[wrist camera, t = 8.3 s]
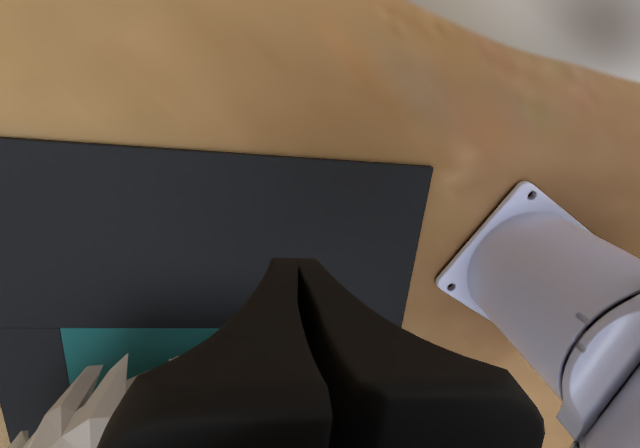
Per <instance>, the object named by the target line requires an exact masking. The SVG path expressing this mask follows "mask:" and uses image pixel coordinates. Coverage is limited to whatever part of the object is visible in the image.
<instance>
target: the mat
mask: <svg viewBox="0 0 640 448" xmlns="http://www.w3.org/2000/svg"><path fill="white" fill-rule="evenodd" d="M432 172H433V167H431V166H424V165H409V164H394V163H379V162H364V161H349V160H334V159H320V158H305V157H290V156H275V155H260V154H245V153H230V152H215V151H201V150H186V149H171V148H156V147H141V146H126V145H111V144H97V143H82V142H67V141H52V140H37V139H22V138H7V137H0V404H1V408H2V412H3V416H4V420H5V424H6V428H7V431H8V435H9V439H10V443H12V442H13V440H14V439H15V438H16V437H17V435H18V434H19V433H20V432H21V431H27V430H28V435H29V439H30V438H31V437H32V435H33V434H34V433H35V432H36V430H37V429H38V427H39V425H40V423H41V421H42V419H43V417H44V416H45V414H46V413H47V412H48V411H49V410H50V408H51V407H52V406H53V405H54V404H55V403H56V402H57V400H58V399H59V398H60V397H61V396H62V395H63V393H64V392H65V391H66V390H67V389H68V388H69V387H70V385H71V384H72V383H73V382H74V381H75V380H76V378H77V377H78V376H79V375H80V374H81V373H82V372H83V370H84V369H85V368H86V367H87V366H93V365H103V368H102V370H101V372H100V375H99V377H98V380H97V383H96V385H95V388H94V390H93V392H94V391H95V390H96V388H97V387H98V385H99V384H100V383H101V381H102V380H103V379H104V377H105V376H106V374H107V373H108V372H109V370H110V369H111V368H112V367H113V366H114V365H115V364H117V363H118V362H119V361H120V360H121V359H122V358H123V357H124V356H125V355H126V354H127V353H128V363H127V376H126V380H128V379H130V378H132V377H135V376H137V375H139V374H142V373H144V372H146V371H149V370H151V369H153V368H156V367H158V366H160V365H162V364H164V363H166V362H168V361H169V359H173V358H175V357H177V356H180V355H182V354H184V353H185V352H187V351H189V350H190V349H192V348H194V347H195V346H197V345H198V344H200V343H201V342H203V341H205V340H206V339H207V338H209V337H210V336H211V335H213V334H214V333H215V332H216V331H218V330H219V329H220V328H221V327H222V326H223V325H225V324H226V323H227V322H228V321H229V320H230V319H231V318H232V317H233V316H234V315H235V314H236V313H237V312H238V311H239V310H240V309H241V307H242V306H243V305H244V304H245V303H246V301H247V300H248V299H249V298H250V296H251V295H252V294H253V292H254V291H255V290H256V288H257V287H258V285H259V283H260V282H261V280H262V279H263V277H264V275H265V273H266V271H267V269H268V266H269V263H270V260H271V259H273V258H274V257H276V258H311V259H317V260H318V261H319V262H320V263H321V264H322V266H323V267H324V268H325V269H326V270H327V271H328V272H329V273H330V274H331V275H332V276H333V277H334V278H335V279H336V280H337V281H338V282H339V283H341V284H342V285H343V286H344V287H345V288H346V289H347V290H348V291H349V292H350V293H352V294H353V295H354V296H355V297H356V298H358V299H359V300H360V301H361V302H363V303H364V304H365V305H366V306H368V307H369V308H371V309H372V310H373V311H375V312H376V313H378V314H379V315H381V316H382V317H384V318H386V319H387V320H389V321H390V322H392V323H393V324H395V325H397V326H399V327H400V328H401V326H402V321H403V316H404V311H405V306H406V301H407V296H408V291H409V286H410V281H411V276H412V271H413V266H414V261H415V256H416V251H417V246H418V241H419V236H420V231H421V226H422V221H423V216H424V212H425V207H426V202H427V197H428V192H429V187H430V182H431V177H432ZM92 394H93V393H92Z"/></svg>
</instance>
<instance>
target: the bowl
mask: <svg viewBox="0 0 640 448" xmlns="http://www.w3.org/2000/svg"><path fill="white" fill-rule="evenodd" d="M177 357H178V356H177ZM175 358H176V357H175ZM173 359H174V358H173ZM170 360H172V359H169V361H170ZM127 363H128V353H127V354H126V355H125V356H124V357H123V358H122V359H121V360H120V361H119V362H118V363H117V364H115V365H114V366H113V367H112V368H111V369H110V370H109V372H108V373H107V374H106V376H105V377H104V379H103V380H102V381H101V383H100V384H99V385H98V387H97V388H96V390H95V391H94V392H93V390H94V388H95V385H96V383H97V380H98V377H99V375H100V372H101V370H102V368H103V365H93V366H87V367H86V368H85V369H84V370H83V372H82V373H81V374H80V375H79V376H78V377H77V378H76V380H75V381H74V382H73V383H72V384H71V385H70V387H69V388H68V389H67V390H66V391H65V392H64V393H63V395H62V396H61V397H60V398H59V399H58V400H57V402H56V403H55V404H54V405H53V406H52V407H51V408H50V410H49V411H48V412H47V413H46V414H45V416H44V417H43V419H42V421H41V423H40V425H39V427H38V429H37V430H36V432H35V433H34V434H33V435H32V437H31V438H30V439H29V435H28V430H27V431H21V432H20V433H19V434H18V435H17V437H16V438H15V439H14V440H13V442H12V443H11V444H10V446H9V447H8V448H97V446H98V443H99V441H100V439H101V436H102V434H103V432H104V429H105V427H106V425H107V423H108V421H109V420H110V418H111V416H112V414H113V412H114V411H115V409H116V408H117V406H118V405H119V403H120V401H121V399H122V398H123V396H124V395H125V393H126V392H127V390H128V389H129V387H130V385H131V384H132V382H133V381H134V380H135V378H136V377H137V376H138V375H137V376H135V377H132V378H130V379H128V380H126V376H127ZM146 372H147V371H146ZM144 373H145V372H144ZM139 375H140V374H139ZM92 393H93V394H92Z"/></svg>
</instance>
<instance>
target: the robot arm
mask: <svg viewBox="0 0 640 448" xmlns="http://www.w3.org/2000/svg"><path fill="white" fill-rule="evenodd" d="M531 191H532V195H531V196H530V197H529V198H528V194H529V193H530V192H531ZM452 283H453V285H452V286H451V287H449V288H447V287H448V285H449V284H452ZM436 285H437V286H438V288H439V289H440V290H442V291H444V292H445V293H447V294H448V295H450V296H452V297H453V298H455V299H456V300H458V301H460V302H461V303H463V304H464V305H466V306H468V307H469V308H471V309H472V310H474V311H475V312H477V313H479V314H480V315H482V316H483V317H485V318H487V319H488V320H490V321H491V322H493V323H494V324H495V325H496V326H497V328H498V329H499V330H500V331H501V332H502V333H503V335H504V336H505V337H506V338H507V339H508V340H509V341H510V343H511V344H512V345H513V346H514V347H515V348H516V349H517V351H518V352H519V353H520V354H521V355H522V356H523V357H524V359H525V360H526V361H527V362H528V363H529V364H530V365H531V367H532V368H533V369H534V370H535V371H536V372H537V373H538V375H539V376H540V377H541V378H542V379H543V380H544V381H545V383H546V384H547V385H548V386H549V387H550V388H551V389H552V391H553V392H554V393H555V394H556V395H557V396H558V398H559V399H560V400H561V401H562V402H563V403H562V406H561V409H560V411H559V412H558V414H557V416H556V418H557V419H558V420H559V422H560V423H561V424H562V425H563V426H564V428H565V429H566V430H567V431H568V433H569V434H570V435H571V436H572V437H573V439H574V440H575V441H574V442H573V443H572V444H571V446H570V447H569V448H640V258H638V257H636V256H634V255H632V254H630V253H628V252H626V251H624V250H622V249H620V248H618V247H617V246H615V245H613V244H611V243H609V242H607V241H605V240H603V239H601V238H599V237H597V236H596V235H594V234H592V233H591V232H590V231H589V230H588V229H586V228H585V227H584V226H583V225H582V224H580V223H579V222H578V221H577V220H576V219H574V218H573V217H572V216H571V215H569V214H568V213H567V212H566V211H565V210H563V209H562V208H561V207H560V206H559V205H557V204H556V203H555V202H554V201H553V200H551V199H550V198H549V197H548V196H546V195H545V194H544V193H543V192H542V191H540V190H539V189H538V188H537V187H536V186H534V185H533V184H532V183H530V182H528V181H521V182H519V183H518V184H517V185H516V186H515V187H514V189H513V190H512V191H511V192H510V193H509V194H508V196H507V197H506V198H505V199H504V200H503V201H502V203H501V204H500V205H499V206H498V207H497V208H496V209H495V211H494V212H493V213H492V214H491V215H490V216H489V218H488V219H487V220H486V221H485V222H484V223H483V225H482V226H481V227H480V228H479V229H478V230H477V232H476V233H475V234H474V235H473V236H472V237H471V239H470V240H469V241H468V242H467V243H466V244H465V245H464V247H463V248H462V249H461V250H460V251H459V252H458V254H457V255H456V256H455V257H454V258H453V259H452V261H451V262H450V263H449V264H448V265H447V266H446V268H445V269H444V270H443V271H442V272H441V273H440V275H439V276H438V277H437V279H436ZM544 435H545V430H544V420H543V418H542V416H541V414H540V412H539V410H538V409H537V407H536V406H535V404H534V403H533V402H532V400H531V399H530V398H529V397H528V395H527V394H526V393H525V392H524V390H523V389H522V388H521V386H520V385H519V384H518V383H517V381H516V380H515V379H514V378H513V376H512V375H511V374H510V373H509V372H508V370H506V369H503V368H500V367H497V366H493V365H490V364H487V363H484V362H481V361H478V360H475V359H471V358H468V357H465V356H462V355H460V354H457V353H454V352H452V351H450V350H447V349H445V348H442V347H440V346H437V345H435V344H433V343H430V342H428V341H426V340H424V339H422V338H420V337H418V336H416V335H414V334H412V333H410V332H408V331H406V330H404V329H402V328H400V327H399V326H397V325H395V324H393V323H392V322H390V321H389V320H387V319H386V318H384V317H382V316H381V315H379V314H378V313H376V312H375V311H373V310H372V309H371V308H369V307H368V306H366V305H365V304H364V303H363V302H361V301H360V300H359V299H358V298H356V297H355V296H354V295H353V294H352V293H350V292H349V291H348V290H347V289H346V288H345V287H344V286H343V285H342V284H341V283H339V282H338V281H337V280H336V279H335V278H334V277H333V276H332V275H331V274H330V273H329V272H328V271H327V270H326V269H325V268H324V267H323V266H322V264H321V263H320V262H319V261H318V260H317V259H311V258H276V257H274V258H273V259H271V260H270V263H269V266H268V269H267V271H266V273H265V275H264V277H263V279H262V280H261V282H260V283H259V285H258V287H257V288H256V290H255V291H254V292H253V294H252V295H251V296H250V298H249V299H248V300H247V301H246V303H245V304H244V305H243V306H242V307H241V309H240V310H239V311H238V312H237V313H236V314H235V315H234V316H233V317H232V318H231V319H230V320H229V321H228V322H227V323H226V324H225V325H223V326H222V327H221V328H220V329H219V330H218V331H216V332H215V333H214V334H213V335H211V336H210V337H209V338H207V339H206V340H205V341H203V342H201V343H200V344H198V345H197V346H195V347H194V348H192V349H190V350H189V351H187V352H185V353H184V354H182V355H180V356H178V357H176V358H174V359H172V360H170V361H168V362H166V363H164V364H162V365H160V366H158V367H156V368H153V369H151V370H149V371H147V372H145V373H142V374H140V375H138V376H137V377H136V378H135V380H134V381H133V382H132V384H131V385H130V387H129V389H128V390H127V392H126V393H125V395H124V396H123V398H122V399H121V401H120V403H119V405H118V406H117V408H116V409H115V411H114V412H113V414H112V416H111V418H110V420H109V421H108V423H107V425H106V427H105V429H104V432H103V434H102V436H101V439H100V441H99V443H98V446H97V448H541V447H542V443H543V439H544Z"/></svg>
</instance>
